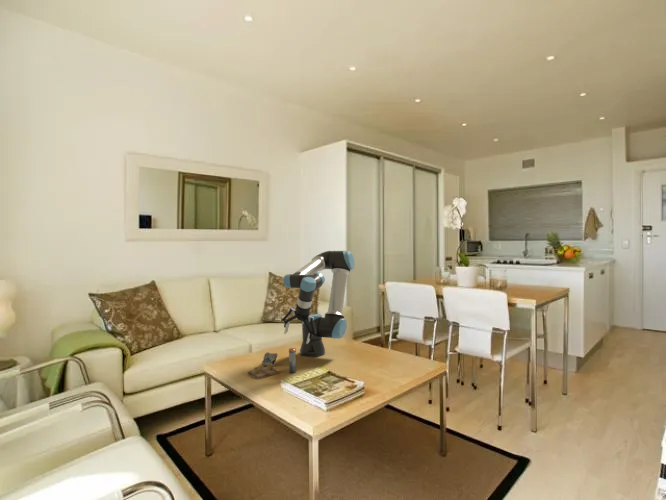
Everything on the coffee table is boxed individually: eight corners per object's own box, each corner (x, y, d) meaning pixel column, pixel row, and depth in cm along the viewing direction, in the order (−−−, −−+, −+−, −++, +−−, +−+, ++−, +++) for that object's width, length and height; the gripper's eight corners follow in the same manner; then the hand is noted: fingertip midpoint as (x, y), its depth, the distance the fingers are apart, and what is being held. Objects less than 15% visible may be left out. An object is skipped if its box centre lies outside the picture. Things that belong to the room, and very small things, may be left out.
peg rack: (268, 368, 201) (267, 361, 201) (278, 373, 194) (278, 365, 193) (248, 374, 193) (247, 366, 193) (258, 379, 185) (258, 371, 185)
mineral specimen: (265, 374, 207) (282, 368, 207) (260, 368, 201) (278, 362, 201) (263, 358, 213) (280, 353, 213) (258, 352, 207) (276, 346, 207)
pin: (293, 370, 197) (292, 347, 197) (297, 372, 195) (297, 349, 194) (287, 372, 195) (287, 349, 194) (291, 373, 192) (291, 350, 192)
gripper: (279, 299, 196) (273, 331, 204) (322, 317, 189) (314, 350, 198) (286, 293, 203) (280, 325, 211) (328, 310, 196) (319, 343, 204)
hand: (296, 337), depth 204 cm, fingers open, 13 cm apart
